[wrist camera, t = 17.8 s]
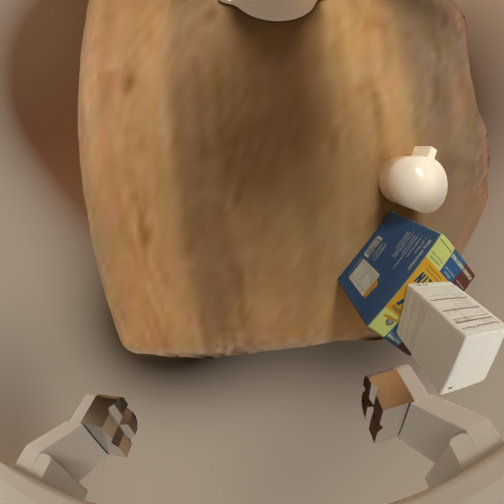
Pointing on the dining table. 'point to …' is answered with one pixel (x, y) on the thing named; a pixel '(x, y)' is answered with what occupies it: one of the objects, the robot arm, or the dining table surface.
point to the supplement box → (449, 334)
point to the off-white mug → (414, 180)
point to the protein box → (399, 272)
